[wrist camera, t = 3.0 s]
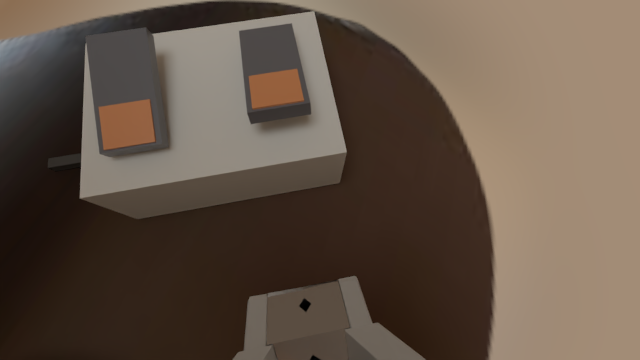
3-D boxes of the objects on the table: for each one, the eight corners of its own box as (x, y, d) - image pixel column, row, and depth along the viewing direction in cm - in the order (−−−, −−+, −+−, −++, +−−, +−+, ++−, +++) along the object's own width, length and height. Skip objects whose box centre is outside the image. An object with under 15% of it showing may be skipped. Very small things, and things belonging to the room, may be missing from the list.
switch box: (51, 234, 31) (-37, 218, 23) (59, 104, 35) (-12, 54, 27) (339, 182, 33) (346, 152, 25) (313, 65, 37) (313, 8, 29)
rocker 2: (252, 128, 24) (246, 111, 22) (243, 48, 28) (238, 29, 26) (311, 118, 24) (310, 101, 22) (293, 41, 28) (291, 21, 27)
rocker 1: (113, 158, 25) (98, 153, 23) (99, 47, 26) (84, 34, 24) (171, 148, 25) (161, 143, 23) (156, 39, 26) (145, 26, 24)
